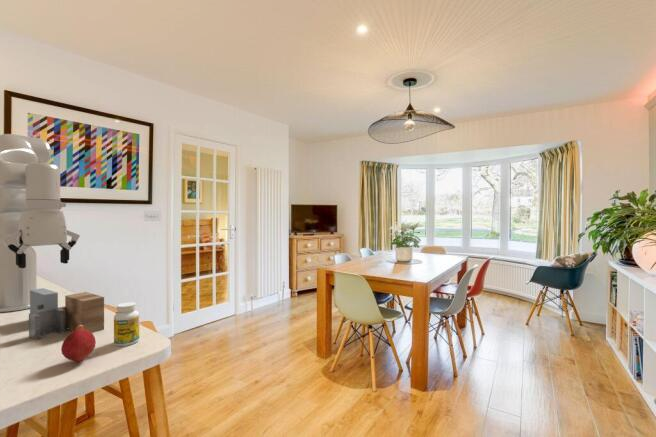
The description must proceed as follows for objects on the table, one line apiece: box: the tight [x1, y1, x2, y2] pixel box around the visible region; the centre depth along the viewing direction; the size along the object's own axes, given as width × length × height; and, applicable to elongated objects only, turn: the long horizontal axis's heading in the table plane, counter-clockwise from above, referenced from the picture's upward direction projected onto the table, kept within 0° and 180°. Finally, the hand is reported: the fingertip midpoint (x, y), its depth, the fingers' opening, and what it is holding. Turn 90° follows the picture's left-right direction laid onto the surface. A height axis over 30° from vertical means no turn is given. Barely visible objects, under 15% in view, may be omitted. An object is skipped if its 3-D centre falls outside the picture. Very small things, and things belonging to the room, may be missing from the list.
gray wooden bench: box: [28, 306, 68, 341], centre depth 85 cm, size 4×9×6 cm, turn 150°
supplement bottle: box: [113, 301, 140, 347], centre depth 80 cm, size 5×5×10 cm
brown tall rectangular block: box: [64, 291, 105, 334], centre depth 88 cm, size 10×5×9 cm, turn 60°
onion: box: [60, 325, 96, 363], centre depth 69 cm, size 6×6×8 cm
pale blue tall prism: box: [29, 287, 59, 314], centre depth 93 cm, size 10×4×9 cm, turn 60°
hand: (44, 265), depth 93 cm, fingers open, 9 cm apart
